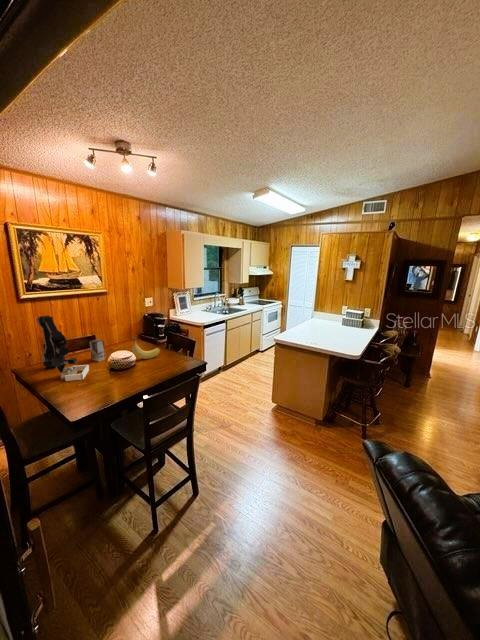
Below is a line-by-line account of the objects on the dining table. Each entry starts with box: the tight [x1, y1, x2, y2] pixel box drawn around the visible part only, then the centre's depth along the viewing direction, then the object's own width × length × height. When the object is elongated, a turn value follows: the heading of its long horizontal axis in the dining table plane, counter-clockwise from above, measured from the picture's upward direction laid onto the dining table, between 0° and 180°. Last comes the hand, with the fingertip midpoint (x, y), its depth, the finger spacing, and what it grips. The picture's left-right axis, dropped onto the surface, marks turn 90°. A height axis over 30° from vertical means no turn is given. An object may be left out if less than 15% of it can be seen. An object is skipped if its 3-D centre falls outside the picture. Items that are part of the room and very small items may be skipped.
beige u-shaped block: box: [64, 364, 90, 382], centre depth 188 cm, size 11×17×4 cm, turn 16°
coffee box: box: [89, 338, 106, 362], centre depth 216 cm, size 9×6×16 cm
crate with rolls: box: [60, 365, 78, 381], centre depth 187 cm, size 7×12×5 cm, turn 16°
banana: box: [131, 337, 161, 360], centre depth 221 cm, size 23×6×20 cm, turn 128°
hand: (61, 373), depth 185 cm, fingers closed
